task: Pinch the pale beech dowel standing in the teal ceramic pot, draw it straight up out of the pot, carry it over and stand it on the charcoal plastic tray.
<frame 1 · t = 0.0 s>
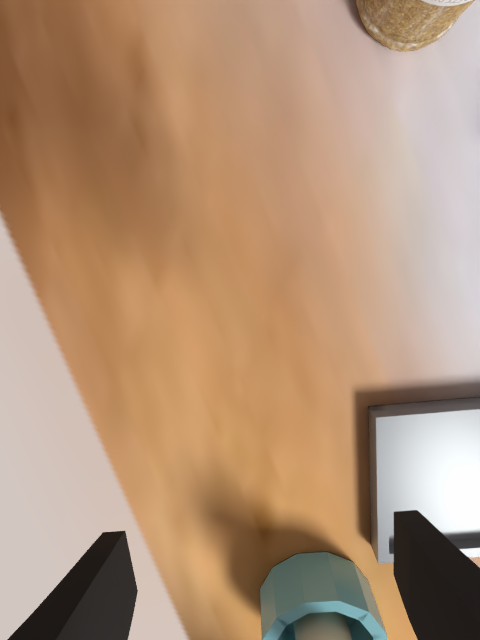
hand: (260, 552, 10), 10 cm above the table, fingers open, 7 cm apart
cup: (314, 596, 23), on the table
tray: (433, 474, 21), on the table
pin: (316, 602, 22), point 1 cm above the table, touching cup
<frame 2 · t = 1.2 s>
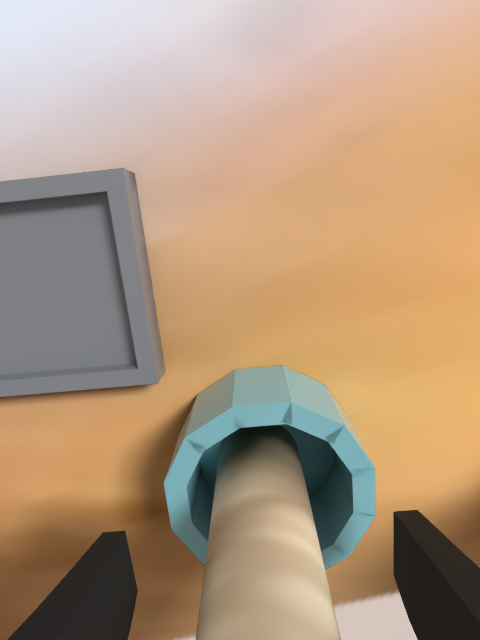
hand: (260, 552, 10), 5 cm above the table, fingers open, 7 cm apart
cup: (265, 445, 15), on the table
tray: (27, 290, 13), on the table
pin: (258, 455, 14), point 1 cm above the table, touching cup
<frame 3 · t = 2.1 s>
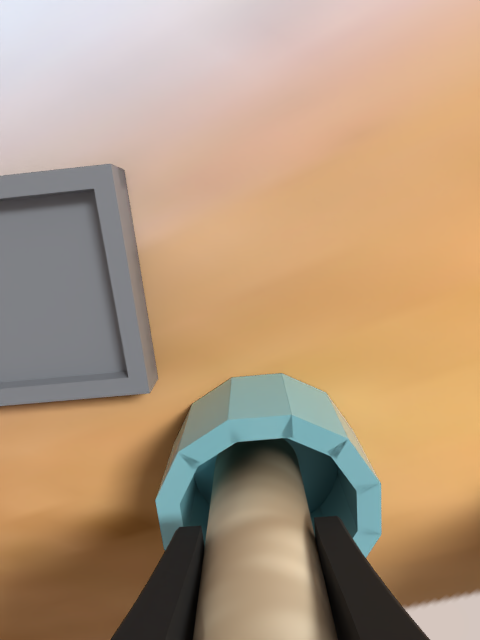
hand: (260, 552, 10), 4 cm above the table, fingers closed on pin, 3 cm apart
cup: (264, 457, 14), on the table
tray: (11, 294, 13), on the table
pin: (256, 467, 14), point 1 cm above the table, touching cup, gripper
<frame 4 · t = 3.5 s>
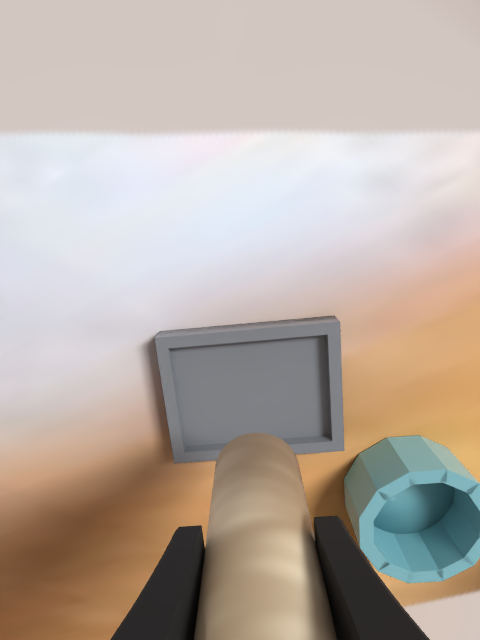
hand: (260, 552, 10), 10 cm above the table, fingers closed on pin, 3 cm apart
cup: (402, 487, 22), on the table
tray: (252, 386, 20), on the table
pin: (257, 470, 14), point 7 cm above the table, touching gripper
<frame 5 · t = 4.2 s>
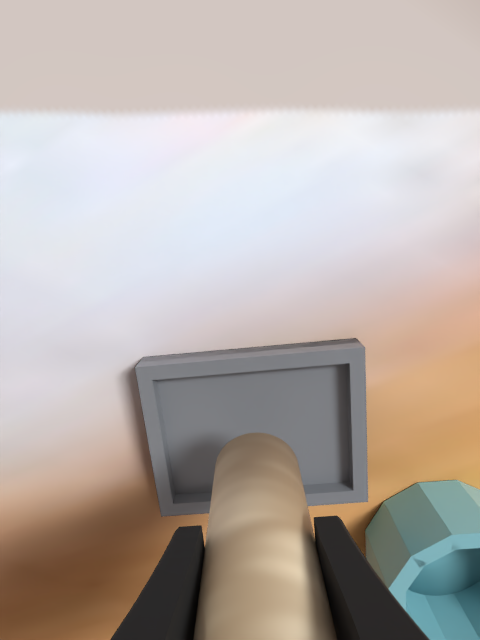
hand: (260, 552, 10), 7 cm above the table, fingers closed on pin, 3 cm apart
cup: (435, 540, 18), on the table
tray: (255, 422, 17), on the table
pin: (256, 469, 14), point 3 cm above the table, touching gripper
when the fingers open (5 cm above the table, at t = 4.9 s): pin stays where it is, resting on tray.
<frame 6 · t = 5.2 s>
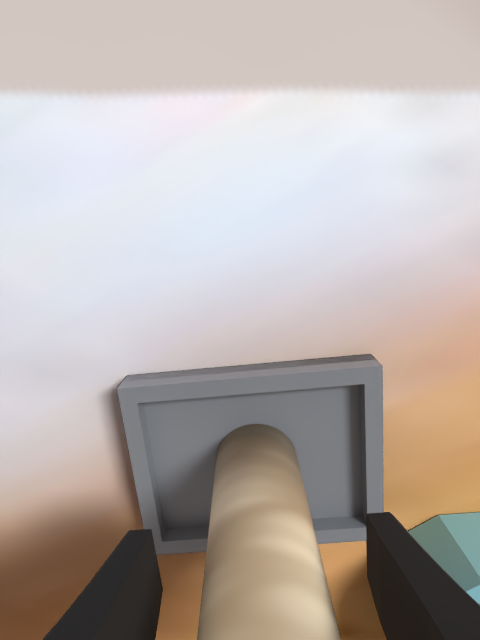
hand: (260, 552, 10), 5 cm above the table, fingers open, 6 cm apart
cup: (456, 578, 16), on the table
tray: (256, 448, 15), on the table
pin: (256, 459, 14), point 1 cm above the table, touching tray
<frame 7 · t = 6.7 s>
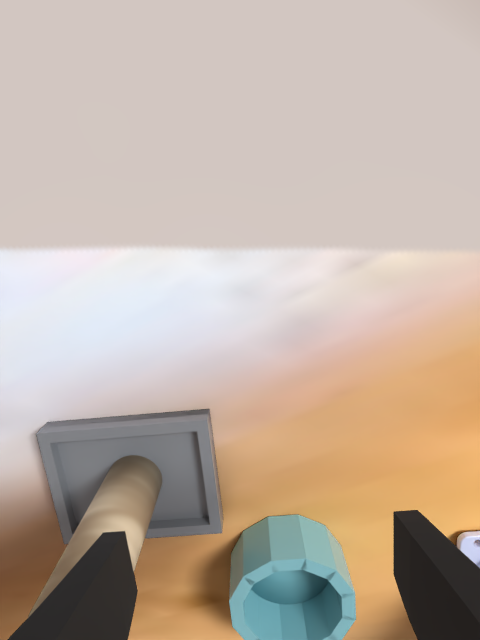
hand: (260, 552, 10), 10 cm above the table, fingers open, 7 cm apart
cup: (286, 561, 23), on the table
tray: (138, 471, 21), on the table
pin: (135, 478, 21), point 1 cm above the table, touching tray
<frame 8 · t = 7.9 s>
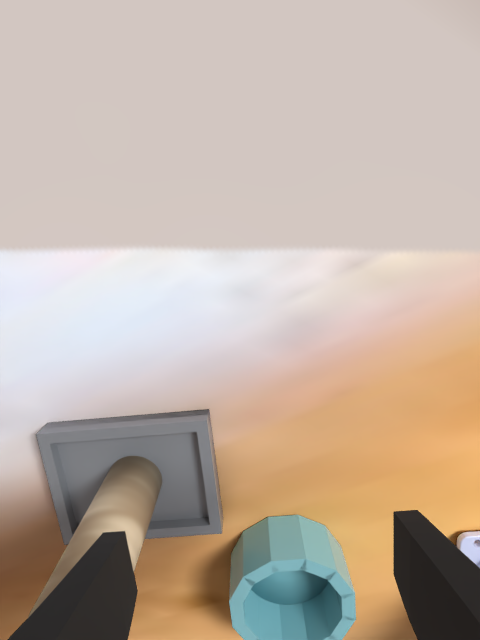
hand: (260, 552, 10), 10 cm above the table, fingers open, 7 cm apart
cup: (286, 561, 23), on the table
tray: (138, 471, 21), on the table
pin: (135, 479, 21), point 1 cm above the table, touching tray
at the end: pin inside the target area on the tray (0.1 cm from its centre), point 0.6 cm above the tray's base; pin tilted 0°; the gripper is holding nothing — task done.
